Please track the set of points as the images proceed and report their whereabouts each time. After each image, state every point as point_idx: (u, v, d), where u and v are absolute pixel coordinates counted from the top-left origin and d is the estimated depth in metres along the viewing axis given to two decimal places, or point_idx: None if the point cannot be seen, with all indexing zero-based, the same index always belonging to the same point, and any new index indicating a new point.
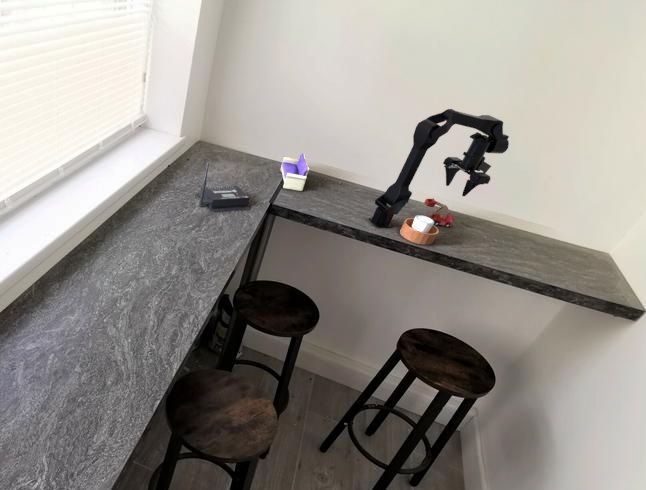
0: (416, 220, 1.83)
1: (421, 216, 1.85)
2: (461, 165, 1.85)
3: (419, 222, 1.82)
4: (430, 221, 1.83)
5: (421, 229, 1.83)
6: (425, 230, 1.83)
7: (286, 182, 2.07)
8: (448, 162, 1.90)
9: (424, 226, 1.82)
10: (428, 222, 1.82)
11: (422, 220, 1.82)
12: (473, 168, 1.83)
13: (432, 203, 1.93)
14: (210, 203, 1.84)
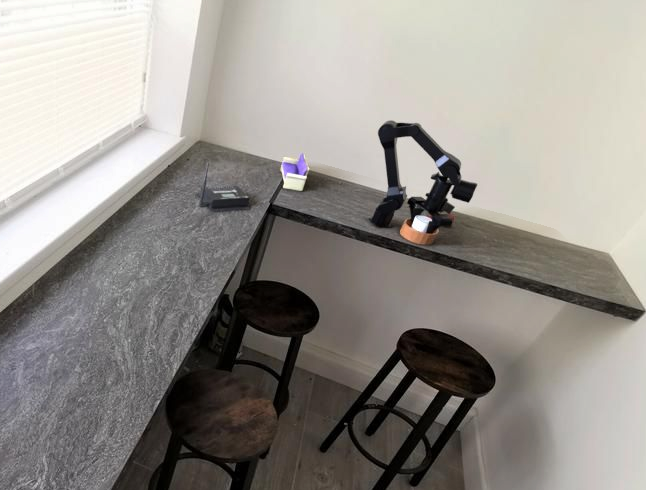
0: (416, 220, 1.83)
1: (421, 216, 1.85)
2: (424, 206, 1.80)
3: (419, 222, 1.82)
4: None
5: (421, 229, 1.83)
6: (425, 230, 1.83)
7: (286, 182, 2.07)
8: (411, 202, 1.85)
9: (424, 226, 1.82)
10: (428, 222, 1.82)
11: (422, 220, 1.82)
12: (436, 210, 1.78)
13: None
14: (210, 203, 1.84)
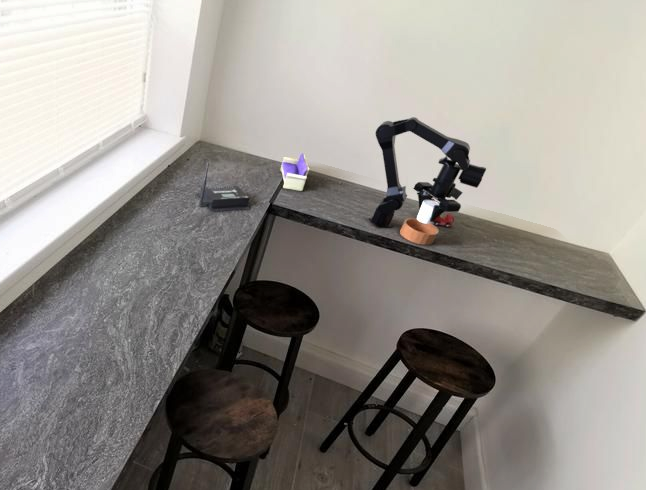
0: (424, 204, 1.79)
1: (429, 200, 1.81)
2: (431, 191, 1.77)
3: (427, 206, 1.78)
4: None
5: (429, 214, 1.79)
6: None
7: (286, 182, 2.07)
8: (418, 188, 1.82)
9: (432, 210, 1.78)
10: None
11: (430, 204, 1.79)
12: (443, 195, 1.74)
13: None
14: (210, 203, 1.84)
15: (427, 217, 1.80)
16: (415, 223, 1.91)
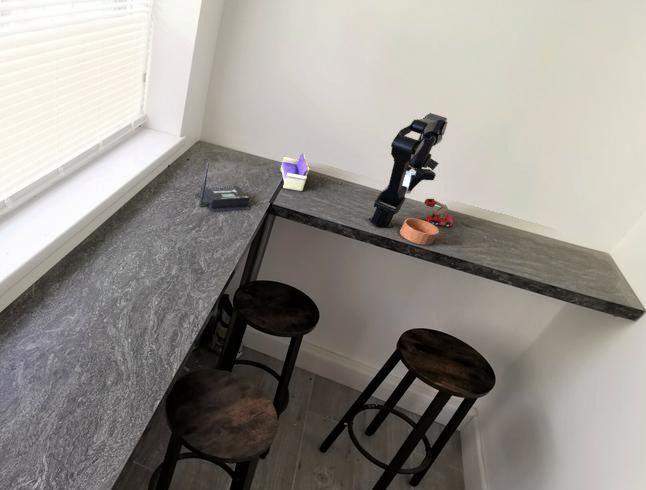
0: None
1: (408, 171, 1.93)
2: (408, 162, 1.88)
3: (405, 176, 1.89)
4: None
5: (407, 183, 1.90)
6: None
7: (286, 182, 2.07)
8: None
9: None
10: None
11: (408, 174, 1.90)
12: (420, 165, 1.86)
13: (432, 203, 1.93)
14: (210, 203, 1.84)
15: (405, 186, 1.91)
16: (415, 223, 1.91)
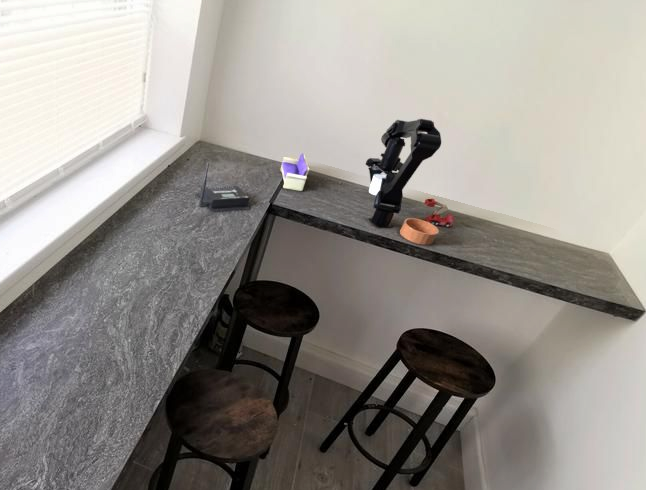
0: (374, 178, 1.99)
1: (379, 174, 2.01)
2: (379, 166, 1.96)
3: (376, 179, 1.97)
4: None
5: (378, 186, 1.98)
6: None
7: (286, 182, 2.07)
8: (369, 163, 2.01)
9: None
10: None
11: (379, 177, 1.98)
12: (390, 168, 1.94)
13: (432, 203, 1.93)
14: (210, 203, 1.84)
15: (377, 189, 1.99)
16: (415, 223, 1.91)
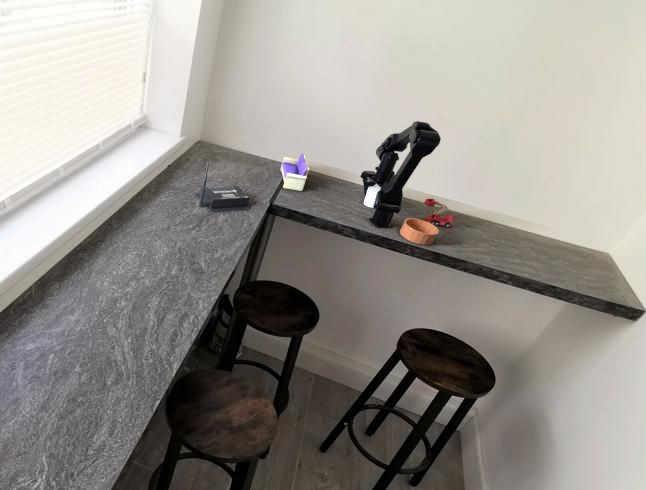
0: (369, 190, 2.02)
1: (374, 187, 2.04)
2: (374, 179, 1.99)
3: (371, 192, 2.01)
4: None
5: (373, 198, 2.02)
6: None
7: (286, 182, 2.07)
8: (364, 176, 2.05)
9: None
10: None
11: (374, 190, 2.01)
12: (384, 182, 1.97)
13: (432, 203, 1.93)
14: (210, 203, 1.84)
15: (372, 201, 2.03)
16: (415, 223, 1.91)
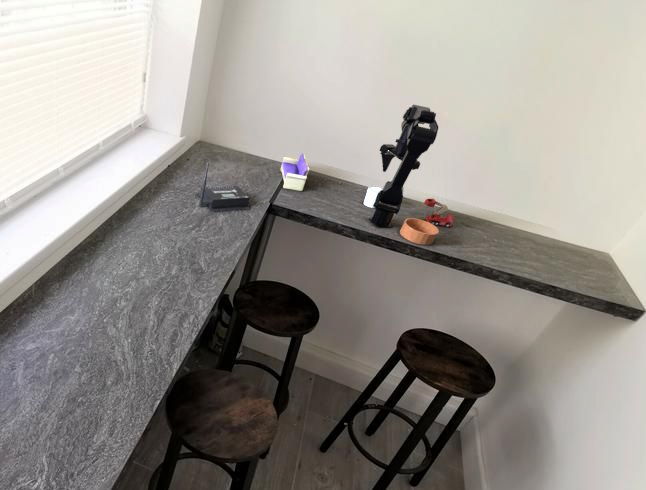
0: (369, 190, 2.02)
1: (374, 187, 2.04)
2: (394, 152, 1.95)
3: (371, 192, 2.01)
4: None
5: (373, 198, 2.02)
6: None
7: (286, 182, 2.07)
8: (383, 149, 2.00)
9: (376, 195, 2.00)
10: None
11: (374, 190, 2.01)
12: (405, 154, 1.93)
13: (432, 203, 1.93)
14: (210, 203, 1.84)
15: (372, 201, 2.03)
16: (415, 223, 1.91)
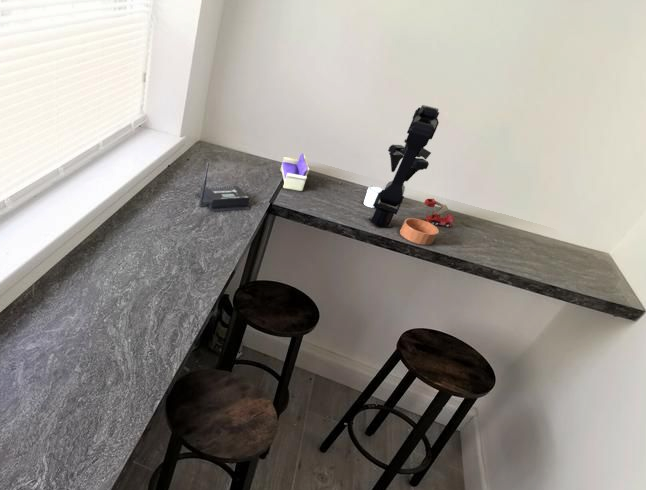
0: (369, 190, 2.02)
1: (374, 187, 2.04)
2: (403, 152, 1.97)
3: (371, 192, 2.01)
4: None
5: (373, 198, 2.02)
6: None
7: (286, 182, 2.07)
8: (392, 149, 2.02)
9: (376, 195, 2.00)
10: None
11: (374, 190, 2.01)
12: None
13: (432, 203, 1.93)
14: (210, 203, 1.84)
15: (372, 201, 2.03)
16: (415, 223, 1.91)
